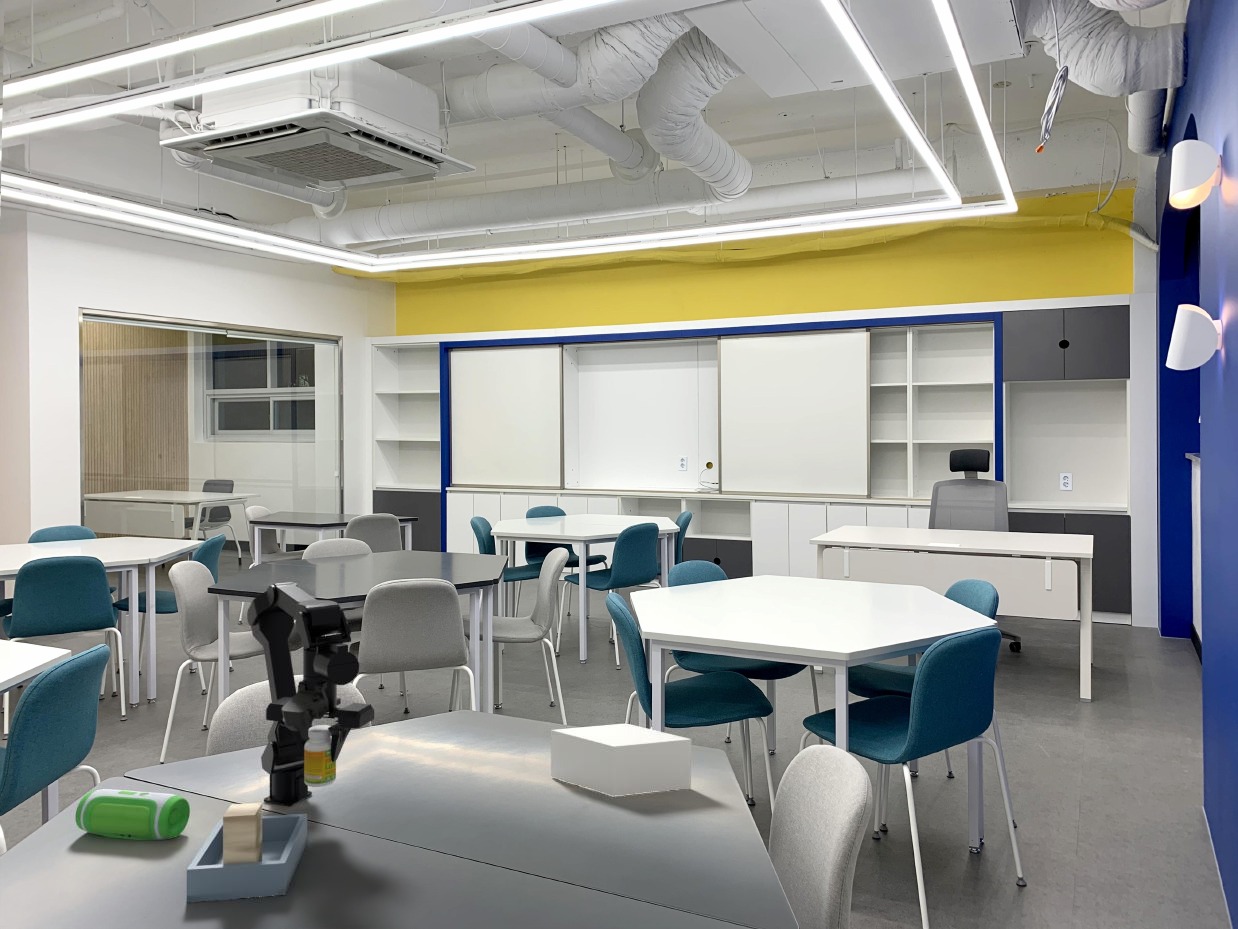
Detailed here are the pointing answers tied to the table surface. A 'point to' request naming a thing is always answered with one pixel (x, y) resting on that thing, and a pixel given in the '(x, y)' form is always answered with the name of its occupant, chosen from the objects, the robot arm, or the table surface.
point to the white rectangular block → (621, 759)
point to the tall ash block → (242, 833)
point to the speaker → (132, 814)
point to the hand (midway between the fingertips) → (319, 759)
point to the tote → (251, 879)
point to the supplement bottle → (319, 758)
